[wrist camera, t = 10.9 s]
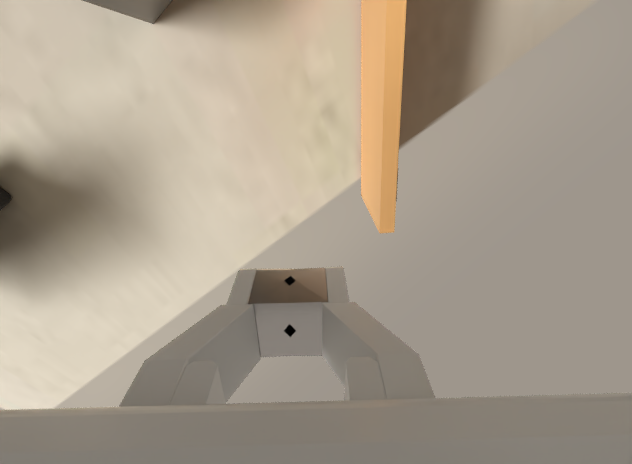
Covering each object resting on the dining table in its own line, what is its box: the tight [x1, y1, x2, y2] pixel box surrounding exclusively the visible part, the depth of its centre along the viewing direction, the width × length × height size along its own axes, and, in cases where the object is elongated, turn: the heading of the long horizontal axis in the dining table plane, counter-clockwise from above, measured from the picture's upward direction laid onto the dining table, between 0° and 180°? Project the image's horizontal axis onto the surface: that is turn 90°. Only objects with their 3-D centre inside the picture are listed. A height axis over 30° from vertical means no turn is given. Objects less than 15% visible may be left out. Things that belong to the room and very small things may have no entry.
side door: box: [361, 0, 407, 233], centre depth 16 cm, size 20×1×6 cm, turn 4°
